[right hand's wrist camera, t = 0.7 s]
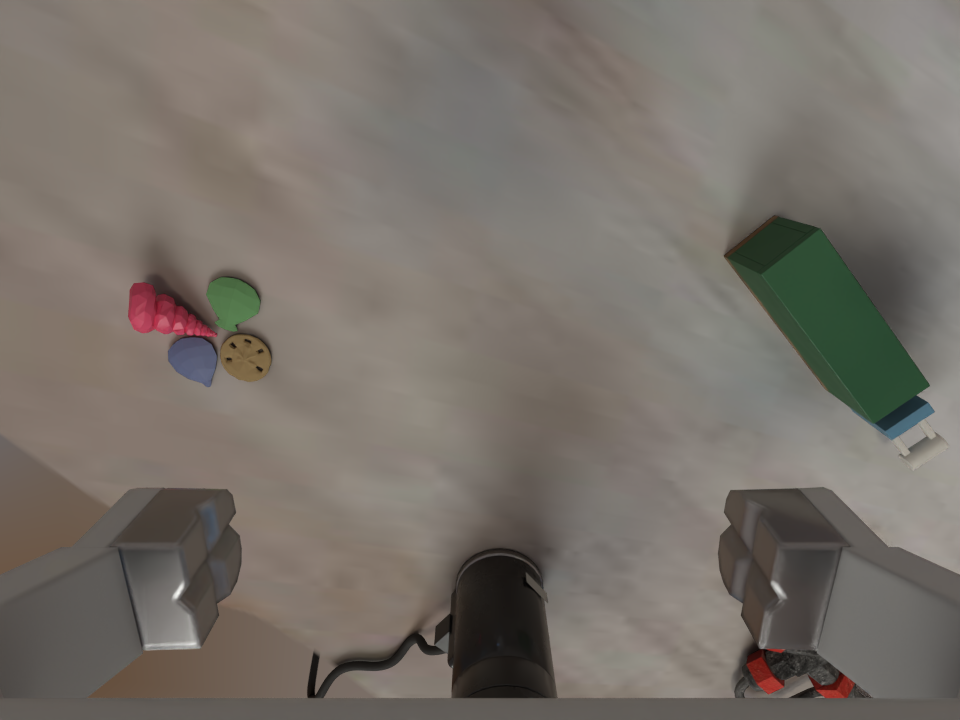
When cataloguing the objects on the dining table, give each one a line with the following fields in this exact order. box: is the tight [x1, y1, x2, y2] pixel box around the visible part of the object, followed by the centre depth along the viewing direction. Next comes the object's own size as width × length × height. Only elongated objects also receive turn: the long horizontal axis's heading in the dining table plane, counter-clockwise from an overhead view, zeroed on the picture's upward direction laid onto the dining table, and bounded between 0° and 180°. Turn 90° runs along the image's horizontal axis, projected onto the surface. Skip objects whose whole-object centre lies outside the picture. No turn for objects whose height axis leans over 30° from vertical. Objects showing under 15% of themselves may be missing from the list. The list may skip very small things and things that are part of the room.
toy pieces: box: [128, 277, 271, 387], centre depth 55 cm, size 12×11×4 cm
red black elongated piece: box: [735, 649, 865, 698], centre depth 70 cm, size 6×26×15 cm
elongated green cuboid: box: [724, 215, 930, 424], centre depth 53 cm, size 17×5×8 cm, turn 42°
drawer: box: [851, 396, 949, 470], centre depth 54 cm, size 22×4×6 cm, turn 42°
